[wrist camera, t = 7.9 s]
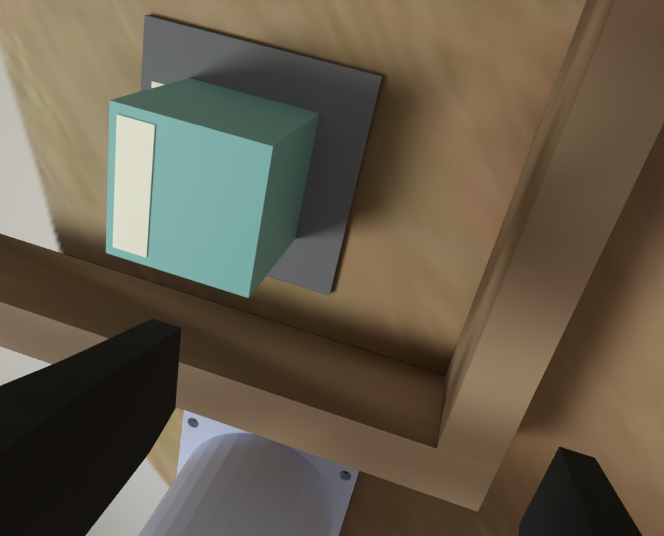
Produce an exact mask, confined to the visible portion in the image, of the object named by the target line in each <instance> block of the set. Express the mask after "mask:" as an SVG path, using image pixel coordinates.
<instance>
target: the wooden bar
mask: <svg viewBox="0 0 664 536" xmlns="http://www.w3.org/2000/svg"><path fill="white" fill-rule="evenodd" d="M151 319H156V320H159V321H162V322H165V323H168V324H171V325H175V326H178V327H181V341H180V354H179V368H178V381H177V394H176V407H177V408H180V409H183V410H186V411H189V412H192V413H194V414H197V415H200V416H203V417H206V418H209V419H212V420H215V421H217V422H220V423H223V424H226V425H229V426H232V427H235V428H238V429H241V430H243V431H246V432H249V433H252V434H255V435H258V436H261V437H264V438H267V439H269V440H272V441H275V442H278V443H281V444H284V445H287V446H290V447H292V448H295V449H298V450H301V451H304V452H307V453H310V454H313V455H316V456H318V457H321V458H324V459H327V460H330V461H333V462H336V463H339V464H342V465H344V466H347V467H350V468H353V469H356V470H359V471H362V472H365V473H367V474H370V475H373V476H376V477H379V478H382V479H385V480H388V481H391V482H393V483H396V484H399V485H402V486H405V487H408V488H411V489H414V490H417V491H419V492H422V493H425V494H428V495H431V496H434V497H437V498H440V499H442V500H445V501H448V502H451V503H454V504H457V505H460V506H463V507H466V508H468V509H471V510H474V511H477V512H478V511H479V508H480V506H481V504H482V502H483V500H484V498H485V496H486V494H487V492H488V490H489V488H490V485H491V483H492V481H493V479H494V477H495V475H496V473H497V471H498V469H495V468H492V467H490V466H487V465H484V464H481V463H478V462H475V461H472V460H469V459H466V458H463V457H460V456H457V455H454V454H451V453H448V452H445V451H442V450H439V449H437V440H438V432H439V423H440V415H441V406H442V398H443V389H444V381H445V376H443V375H440V374H437V373H434V372H430V371H427V370H424V369H421V368H418V367H415V366H412V365H409V364H405V363H402V362H399V361H396V360H393V359H390V358H387V357H384V356H380V355H377V354H374V353H371V352H368V351H365V350H362V349H359V348H356V347H352V346H349V345H346V344H343V343H340V342H337V341H334V340H331V339H327V338H324V337H321V336H318V335H315V334H312V333H309V332H306V331H302V330H299V329H296V328H293V327H290V326H287V325H284V324H281V323H277V322H274V321H271V320H268V319H265V318H262V317H259V316H256V315H252V314H249V313H246V312H243V311H240V310H237V309H234V308H231V307H227V306H224V305H221V304H218V303H215V302H212V301H209V300H206V299H202V298H199V297H196V296H193V295H190V294H187V293H184V292H181V291H177V290H174V289H171V288H168V287H165V286H162V285H159V284H156V283H152V282H149V281H146V280H143V279H140V278H137V277H134V276H131V275H127V274H124V273H121V272H118V271H115V270H112V269H109V268H106V267H102V266H99V265H96V264H93V263H90V262H87V261H84V260H81V259H77V258H74V257H71V256H68V255H65V254H62V253H59V252H56V251H52V250H49V249H46V248H43V247H40V246H37V245H34V244H31V243H27V242H24V241H21V240H18V239H15V238H12V237H9V236H5V235H2V234H0V346H1V347H4V348H7V349H10V350H13V351H16V352H19V353H22V354H25V355H27V356H30V357H33V358H36V359H39V360H42V361H44V362H47V363H50V364H55V363H57V362H59V361H61V360H64V359H66V358H68V357H70V356H72V355H75V354H77V353H79V352H81V351H83V350H86V349H88V348H90V347H92V346H94V345H96V344H99V343H101V342H103V341H105V340H107V339H109V338H111V337H113V336H115V335H118V334H120V333H122V332H124V331H126V330H128V329H130V328H132V327H135V326H137V325H139V324H141V323H144V322H146V321H148V320H151Z"/></svg>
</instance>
